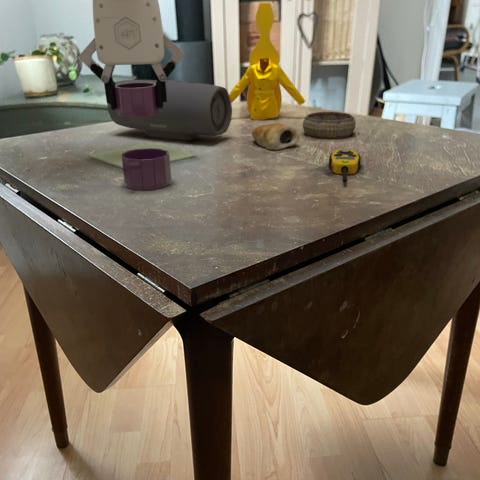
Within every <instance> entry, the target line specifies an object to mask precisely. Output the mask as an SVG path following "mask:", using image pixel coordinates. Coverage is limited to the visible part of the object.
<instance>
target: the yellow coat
mask: <svg viewBox="0 0 480 480" xmlns="http://www.w3.org/2000/svg"><path fill="white" fill-rule="evenodd" d="M274 16H275V15H274V12H273V8H272V5H271V2H259V4H258V7H257V10H256V14H255V25H256V27H257V28H256V29H257V30H258V33H259V40H258V41H257V43H256V44H255V46H254V47H253V49H252V50H251V52H250V54H249V58H248V59H249V60H248V61H249V66H248V67H247V69H246V71H245V72H244V74H243V75H242V77H241V78H240V79H239V80H238V82H236V84H235V85H234V87H232V89H231V91H230V93H228V94H229V96H230V100H231V104H232V103H233V102H234V101H236V99H237V98H238V97H239V96H240V95H241V94H242V93H243V91H244V90H245V89H246V88H247V87H248V88H247V94H246V106H247V112H248V114H249V116H250V117H249V119H251V120H253V121H265V120H268V119H274V118H278V117H279V113H280V111H281V107H282V103H283V101H282V99H283V98H282V97H283V96H282V90H281V87H282V88H283V89H284V91H286V92H287V94H289V95H290V97H291V98H292V99H293V100H294V101H295V102H296V103H297V104H298V105H299V106H301V105H303V104H305V102H306V100H305V98H304V97H303V96H302V94H301V92H299V90H298V88H297V87H296V86H295V85H294V83H293V82H292V81H291V80H290V78H289V76H288V75H287V74H286V72H285V71H284V70H283V69H282V66H280V58H281V57H280V54H279V52H278V50H277V48H276V46H274V44H273V43H272V40H271V38H270V33H271V31H272V28H273V25H274V22H275V21H274V19H275V17H274Z"/></svg>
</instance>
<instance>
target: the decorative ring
mask: <svg viewBox="0 0 480 480" xmlns="http://www.w3.org/2000/svg"><path fill="white" fill-rule="evenodd" d="M356 125H357V123H356V119H355V117H354V116H353V115H352V114H350V113H346V112H340V111H319V112H312V113H309V114H307V115H306V116H305V117H304V119H303V121H302V130H303V131H304V133H305V134H306V136H309V137H312V138H318V139H342V138H347V137H349V136H351V135H353V133H354V131H355V129H356Z"/></svg>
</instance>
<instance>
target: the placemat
mask: <svg viewBox="0 0 480 480" xmlns="http://www.w3.org/2000/svg"><path fill="white" fill-rule="evenodd" d="M145 148H155V149H163V150H166V151H168V152H169V157H170V163H173V162H178V161H182V160H187V159H190V158H196V157H197V154H195V153H192V152H188V151H184V150H181V149H177V148H174V147H170V146H167V145H164V144H159V143H156V142H153V141H152V142H147V143H142V144H137V145H132V146H127V147H122V148H116V149H111V150H107V151H106V150H105V151H101V152H97V153H92V154H88V157H89V158H92V159H94V160H98V161H100V162H103V163H105V164H109V165H111V166H114V167H116V168H119V169H123V164H122V156H121V154H123V153H125V152H127V151H130V150H135V149H145Z"/></svg>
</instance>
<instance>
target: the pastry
mask: <svg viewBox="0 0 480 480" xmlns="http://www.w3.org/2000/svg"><path fill="white" fill-rule="evenodd" d="M251 136H252V138H253V139H254V142H255V143H256V144H257V145H259V146H260V147H262V148H265V149H267V150H274V151H279V150H284V149H286V148H289V147H293V146H295V145H296V144H297V143H298V142H299V140H300V134H299V132H298V130H297V129H296V128H295V126H289V125H287V124H283V123H279V122H278V123H269V124H262V125H258V126H257V127H255V128H254V129H253V130H252V132H251Z"/></svg>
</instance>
